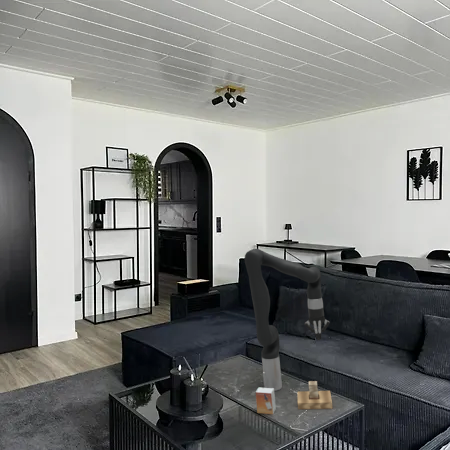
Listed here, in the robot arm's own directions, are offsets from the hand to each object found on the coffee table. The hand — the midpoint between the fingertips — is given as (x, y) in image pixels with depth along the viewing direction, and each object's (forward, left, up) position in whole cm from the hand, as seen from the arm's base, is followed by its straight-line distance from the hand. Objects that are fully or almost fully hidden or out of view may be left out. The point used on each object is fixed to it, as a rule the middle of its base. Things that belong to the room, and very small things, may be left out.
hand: (318, 339), depth 219 cm
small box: (-28, -19, -27) cm, 43 cm away
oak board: (-5, -12, -27) cm, 30 cm away
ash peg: (-5, -12, -27) cm, 30 cm away
